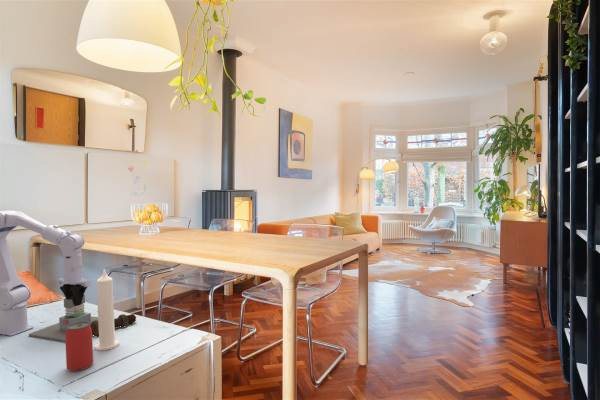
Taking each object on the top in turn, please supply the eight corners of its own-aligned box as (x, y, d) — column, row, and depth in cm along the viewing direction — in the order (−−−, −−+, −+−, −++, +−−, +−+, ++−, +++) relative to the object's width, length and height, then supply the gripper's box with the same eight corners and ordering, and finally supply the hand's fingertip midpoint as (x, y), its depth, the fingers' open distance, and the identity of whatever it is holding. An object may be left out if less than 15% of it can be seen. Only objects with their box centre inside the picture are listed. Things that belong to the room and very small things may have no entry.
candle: (92, 352, 114) (88, 272, 113) (98, 343, 121) (95, 268, 120) (117, 349, 116) (113, 270, 115) (121, 340, 123) (118, 266, 122)
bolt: (135, 328, 139) (94, 340, 127) (129, 319, 141) (88, 330, 129) (139, 316, 137) (98, 327, 125) (133, 307, 140) (92, 318, 127)
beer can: (97, 360, 108) (96, 320, 108) (85, 371, 102) (83, 329, 101) (75, 361, 108) (73, 321, 108) (61, 372, 101) (59, 330, 101)
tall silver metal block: (63, 320, 132) (62, 298, 132) (78, 315, 137) (77, 294, 137) (71, 321, 130) (71, 299, 130) (86, 316, 136) (86, 295, 136)
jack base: (28, 336, 128) (27, 320, 128) (80, 316, 147) (79, 303, 147) (70, 343, 121) (69, 327, 121) (118, 321, 140) (118, 308, 140)
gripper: (48, 268, 132) (49, 306, 132) (77, 271, 127) (79, 309, 128) (66, 264, 139) (68, 300, 139) (95, 266, 134) (96, 303, 134)
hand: (74, 304), depth 134 cm, fingers closed on tall silver metal block, 3 cm apart
